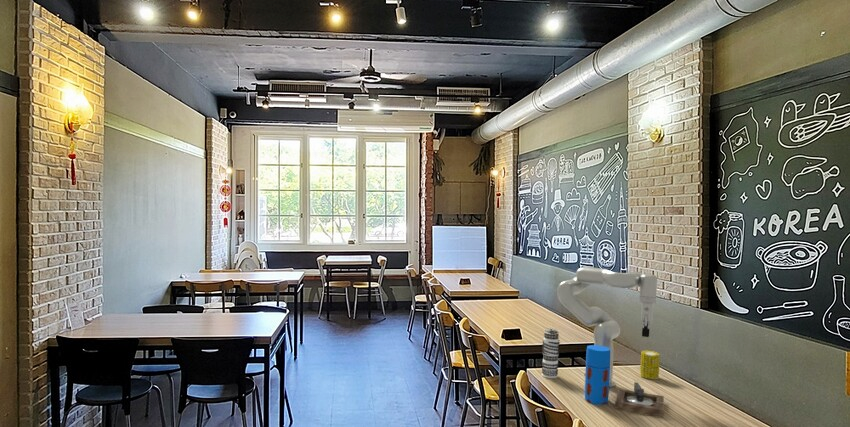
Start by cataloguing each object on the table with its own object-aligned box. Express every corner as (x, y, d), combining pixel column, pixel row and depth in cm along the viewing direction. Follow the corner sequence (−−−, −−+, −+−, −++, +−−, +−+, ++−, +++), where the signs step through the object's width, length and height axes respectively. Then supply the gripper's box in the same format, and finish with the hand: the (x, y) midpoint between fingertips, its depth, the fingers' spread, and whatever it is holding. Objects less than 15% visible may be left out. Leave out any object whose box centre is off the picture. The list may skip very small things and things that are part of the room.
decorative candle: (561, 375, 292) (563, 329, 291) (553, 379, 285) (555, 332, 284) (546, 371, 298) (548, 326, 297) (537, 375, 291) (539, 329, 290)
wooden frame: (615, 409, 245) (615, 401, 245) (618, 395, 264) (618, 388, 264) (663, 417, 237) (663, 410, 237) (663, 402, 256) (663, 395, 256)
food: (657, 378, 297) (656, 384, 288) (635, 370, 302) (633, 376, 293) (665, 353, 295) (664, 358, 286) (643, 345, 300) (641, 350, 291)
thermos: (596, 406, 248) (598, 352, 248) (579, 398, 258) (581, 346, 257) (613, 403, 253) (615, 349, 253) (596, 395, 263) (598, 344, 262)
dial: (656, 408, 244) (656, 394, 244) (629, 406, 246) (629, 392, 246) (648, 396, 259) (648, 383, 259) (622, 394, 261) (623, 381, 261)
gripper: (655, 302, 258) (653, 340, 259) (656, 298, 272) (654, 334, 272) (638, 300, 262) (636, 338, 262) (640, 296, 275) (638, 332, 276)
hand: (645, 336), depth 267 cm, fingers closed
